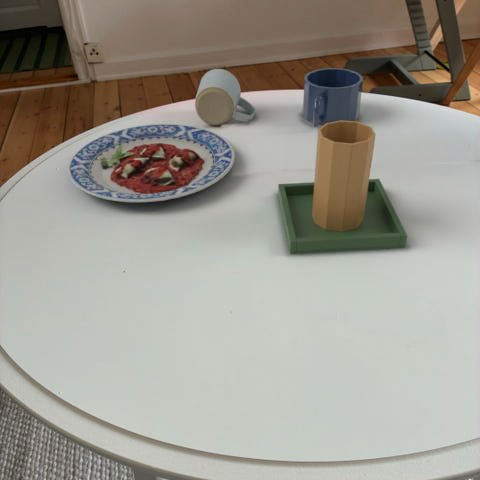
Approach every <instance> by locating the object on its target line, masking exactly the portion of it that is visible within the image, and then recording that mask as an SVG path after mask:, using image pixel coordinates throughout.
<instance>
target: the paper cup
mask: <svg viewBox="0 0 480 480" xmlns="http://www.w3.org/2000/svg"><path fill="white" fill-rule="evenodd" d="M376 136H377V135H376V132H375V131H374V128H373V127H372V126H371V125H368V124H365V123H363V122H361V121H357V120H355V121H343V120H340V121H335V122H330V123H326V124H325V125H323V126H322V125H321V127H319V128H318V129H317V139H316V151H315V152H316V154H315V165H314V166H315V167H314V168H315V169H314V195H313V209H312V216H313V220H314V223H315V224H317V225H319V226H320V227H322V228H324V229H325V230H332V231H340V232H343V231H347V230H351V229H355V228H357V227H358V226H359V225H360V224H361V222H362V221H363V218H364V211H365V204H366V197H367V191H368V184H369V179H370V176H371V171H372V163H373V162H372V161H373V156H374V155H373V154H374V148H375V143H376V142H375V141H376Z"/></svg>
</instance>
